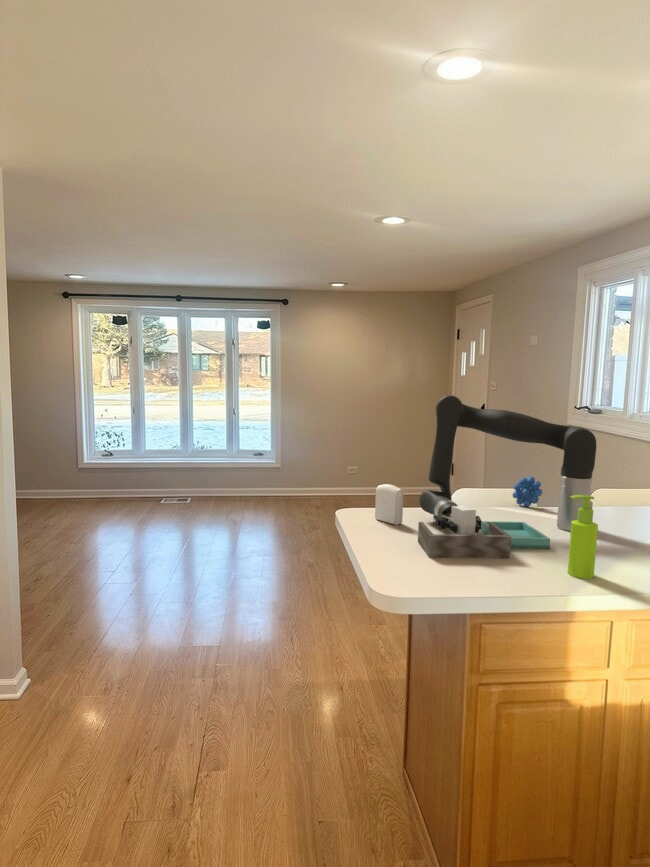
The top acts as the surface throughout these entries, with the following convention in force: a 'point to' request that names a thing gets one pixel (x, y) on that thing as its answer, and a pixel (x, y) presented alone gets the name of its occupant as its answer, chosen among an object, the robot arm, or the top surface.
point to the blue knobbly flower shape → (527, 491)
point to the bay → (465, 544)
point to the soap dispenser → (583, 541)
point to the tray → (520, 534)
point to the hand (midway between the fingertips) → (466, 529)
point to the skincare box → (464, 520)
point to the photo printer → (389, 504)
